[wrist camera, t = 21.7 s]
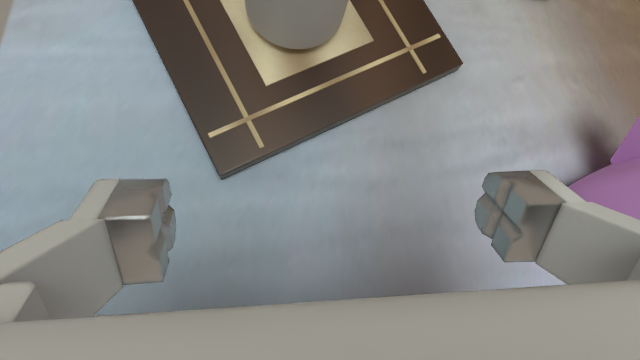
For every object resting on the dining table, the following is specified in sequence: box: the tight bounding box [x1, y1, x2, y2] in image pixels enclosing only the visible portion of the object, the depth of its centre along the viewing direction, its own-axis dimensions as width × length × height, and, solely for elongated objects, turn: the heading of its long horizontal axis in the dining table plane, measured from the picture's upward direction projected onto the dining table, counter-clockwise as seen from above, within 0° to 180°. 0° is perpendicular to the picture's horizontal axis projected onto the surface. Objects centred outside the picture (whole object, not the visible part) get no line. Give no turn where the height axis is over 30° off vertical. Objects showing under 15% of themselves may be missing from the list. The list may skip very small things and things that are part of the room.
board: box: [133, 0, 463, 179], centre depth 26 cm, size 18×16×1 cm
